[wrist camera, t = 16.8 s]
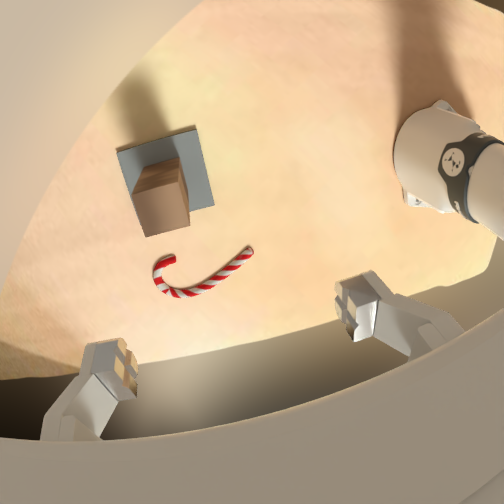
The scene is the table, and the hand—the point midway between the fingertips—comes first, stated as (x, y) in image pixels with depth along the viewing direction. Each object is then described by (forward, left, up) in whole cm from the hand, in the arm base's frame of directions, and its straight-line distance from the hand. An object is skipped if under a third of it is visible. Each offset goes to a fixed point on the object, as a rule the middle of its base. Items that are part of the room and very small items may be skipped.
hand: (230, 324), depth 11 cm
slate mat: (+3, +4, -29) cm, 30 cm away
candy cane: (-4, +16, -30) cm, 34 cm away
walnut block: (+3, +4, -29) cm, 29 cm away
